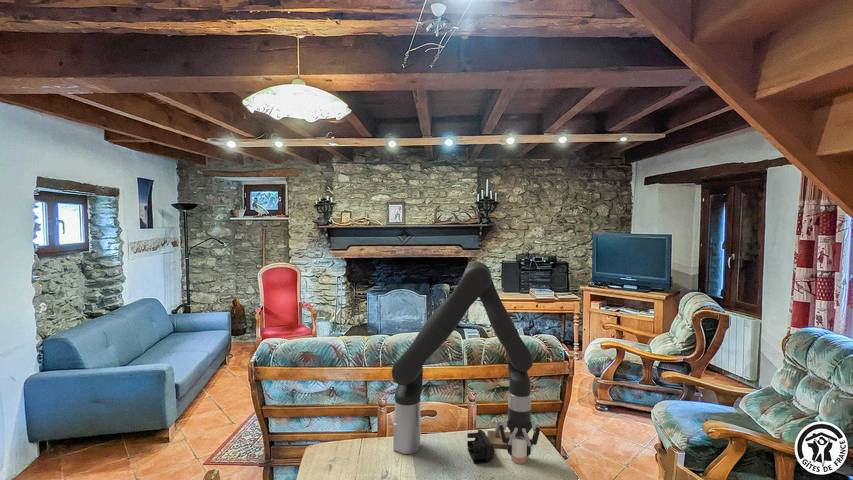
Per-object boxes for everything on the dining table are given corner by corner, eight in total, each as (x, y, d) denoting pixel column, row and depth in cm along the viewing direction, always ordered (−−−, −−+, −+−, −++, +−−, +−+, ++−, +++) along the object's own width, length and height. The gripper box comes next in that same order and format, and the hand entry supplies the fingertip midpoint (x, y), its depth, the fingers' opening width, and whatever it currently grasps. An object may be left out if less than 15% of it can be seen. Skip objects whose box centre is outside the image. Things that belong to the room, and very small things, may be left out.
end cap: (495, 463, 132) (495, 443, 131) (474, 465, 131) (474, 445, 130) (485, 447, 142) (486, 428, 141) (466, 448, 140) (467, 430, 140)
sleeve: (512, 463, 132) (512, 439, 131) (510, 454, 137) (510, 431, 136) (527, 464, 131) (527, 440, 131) (525, 455, 136) (525, 432, 136)
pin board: (488, 447, 141) (488, 427, 141) (487, 434, 150) (487, 415, 150) (528, 450, 139) (528, 430, 139) (524, 436, 148) (525, 417, 148)
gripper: (498, 409, 130) (498, 459, 131) (543, 412, 129) (542, 462, 129) (497, 399, 138) (497, 447, 138) (539, 402, 136) (538, 450, 137)
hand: (518, 454), depth 134 cm, fingers closed on sleeve, 5 cm apart
